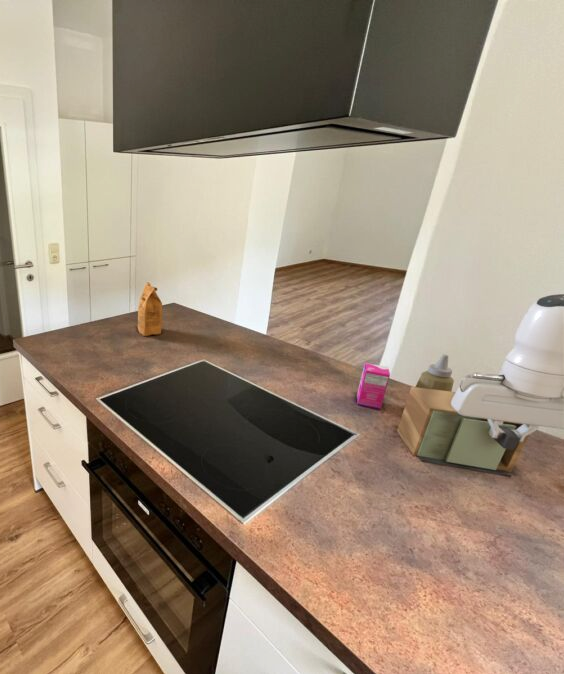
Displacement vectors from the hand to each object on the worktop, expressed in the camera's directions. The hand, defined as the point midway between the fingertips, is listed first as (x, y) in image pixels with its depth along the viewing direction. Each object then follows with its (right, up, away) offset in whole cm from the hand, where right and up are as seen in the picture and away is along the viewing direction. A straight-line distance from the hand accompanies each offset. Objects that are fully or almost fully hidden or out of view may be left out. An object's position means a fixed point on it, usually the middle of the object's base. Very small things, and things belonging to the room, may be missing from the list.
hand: (504, 438), depth 74 cm
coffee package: (-65, +23, +89) cm, 112 cm away
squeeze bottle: (+6, -1, +26) cm, 27 cm away
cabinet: (0, -6, +12) cm, 13 cm away
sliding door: (-2, -8, +4) cm, 10 cm away
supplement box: (-6, +1, +32) cm, 32 cm away
